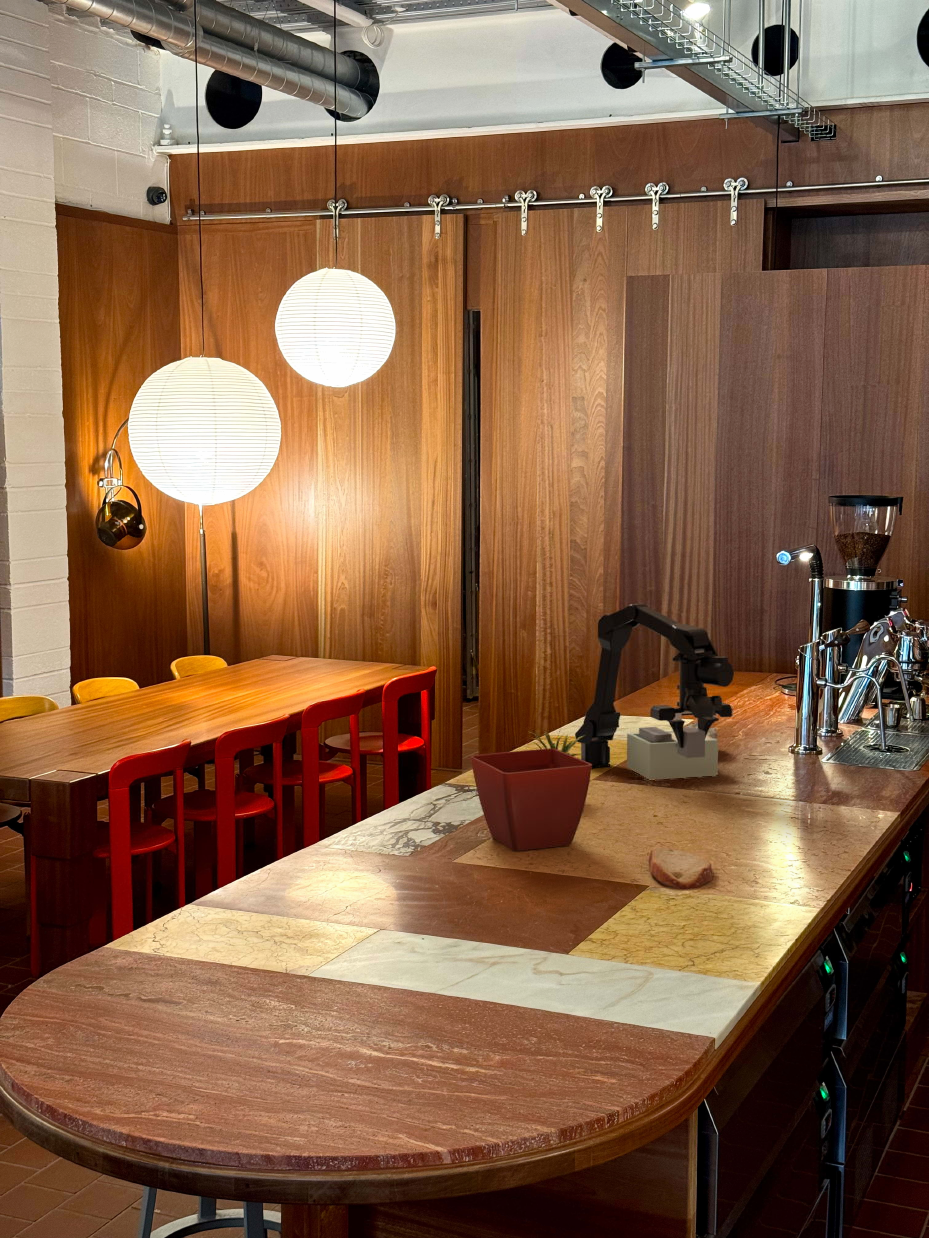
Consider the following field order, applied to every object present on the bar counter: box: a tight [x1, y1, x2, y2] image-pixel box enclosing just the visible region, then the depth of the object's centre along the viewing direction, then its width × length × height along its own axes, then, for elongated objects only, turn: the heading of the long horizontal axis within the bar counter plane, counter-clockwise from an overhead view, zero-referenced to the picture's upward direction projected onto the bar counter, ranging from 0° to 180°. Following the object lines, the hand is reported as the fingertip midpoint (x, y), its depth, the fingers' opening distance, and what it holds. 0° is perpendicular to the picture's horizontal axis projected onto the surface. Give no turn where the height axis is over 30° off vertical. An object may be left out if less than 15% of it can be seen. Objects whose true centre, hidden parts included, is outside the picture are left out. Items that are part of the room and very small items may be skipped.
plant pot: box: [470, 747, 593, 852], centre depth 273 cm, size 19×19×17 cm
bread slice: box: [648, 846, 714, 890], centre depth 252 cm, size 18×18×4 cm
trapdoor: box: [638, 726, 714, 743], centre depth 335 cm, size 16×12×4 cm
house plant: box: [529, 728, 585, 757], centre depth 310 cm, size 14×14×16 cm
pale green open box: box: [626, 730, 719, 781], centre depth 335 cm, size 18×16×9 cm
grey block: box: [677, 727, 705, 758], centre depth 319 cm, size 4×6×6 cm
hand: (691, 747), depth 319 cm, fingers closed on grey block, 4 cm apart
